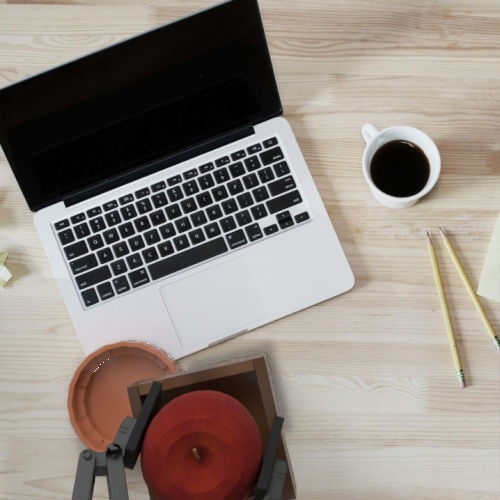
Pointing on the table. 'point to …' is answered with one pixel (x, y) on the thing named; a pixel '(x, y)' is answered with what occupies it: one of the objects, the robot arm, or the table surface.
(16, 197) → the table surface
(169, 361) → the bowl
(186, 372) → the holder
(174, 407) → the apple
